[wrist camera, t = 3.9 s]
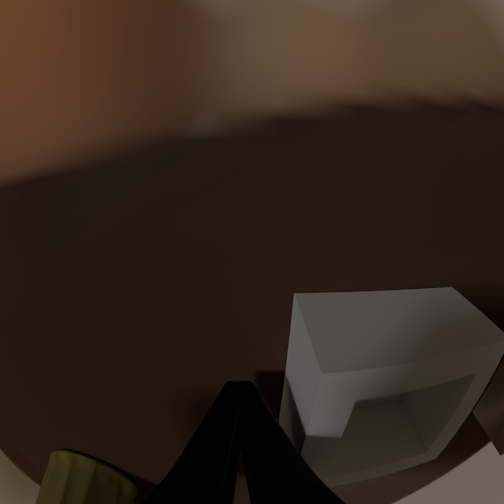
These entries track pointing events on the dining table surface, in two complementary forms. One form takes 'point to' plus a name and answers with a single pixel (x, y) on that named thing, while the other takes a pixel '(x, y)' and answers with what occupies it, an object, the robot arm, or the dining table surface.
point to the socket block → (382, 378)
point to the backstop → (493, 410)
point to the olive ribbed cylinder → (83, 481)
